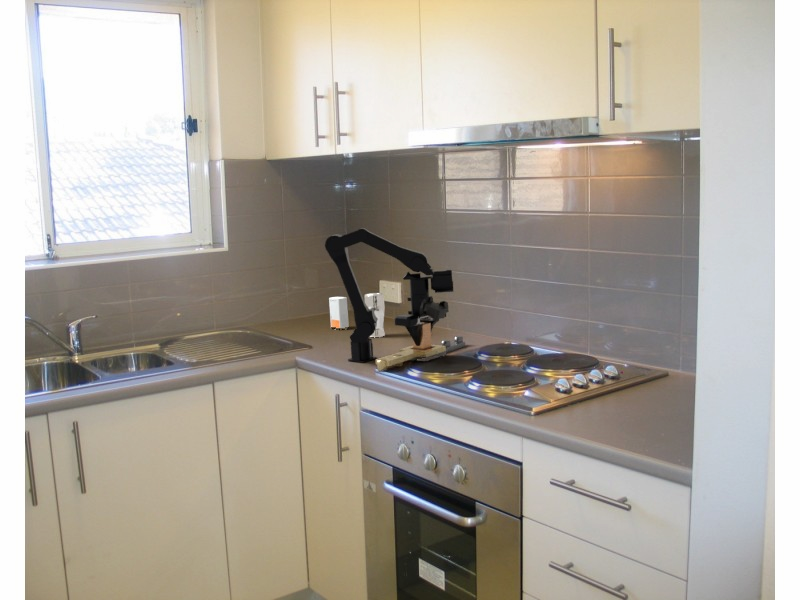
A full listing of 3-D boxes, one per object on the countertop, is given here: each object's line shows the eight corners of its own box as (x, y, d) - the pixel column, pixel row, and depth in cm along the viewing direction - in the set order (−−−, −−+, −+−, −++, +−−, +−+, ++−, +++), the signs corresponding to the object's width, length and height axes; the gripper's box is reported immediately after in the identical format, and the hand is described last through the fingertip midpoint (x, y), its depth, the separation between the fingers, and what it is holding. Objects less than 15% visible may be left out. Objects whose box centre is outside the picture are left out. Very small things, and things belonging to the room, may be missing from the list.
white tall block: (387, 334, 290) (384, 292, 288) (385, 337, 283) (382, 295, 281) (368, 334, 291) (365, 293, 289) (365, 338, 284) (362, 296, 282)
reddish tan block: (423, 354, 245) (422, 325, 244) (413, 353, 247) (411, 324, 246) (432, 352, 248) (430, 322, 247) (421, 350, 250) (420, 322, 249)
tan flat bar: (392, 373, 229) (392, 362, 229) (366, 369, 235) (365, 359, 235) (474, 346, 260) (473, 336, 260) (448, 343, 267) (448, 334, 266)
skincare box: (330, 329, 307) (328, 297, 306) (339, 327, 310) (337, 296, 308) (340, 330, 303) (338, 298, 301) (349, 328, 306) (347, 297, 304)
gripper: (421, 299, 233) (424, 352, 235) (459, 290, 247) (461, 341, 249) (391, 297, 240) (394, 349, 242) (430, 289, 254) (432, 338, 256)
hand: (422, 344), depth 247 cm, fingers closed on reddish tan block, 4 cm apart
